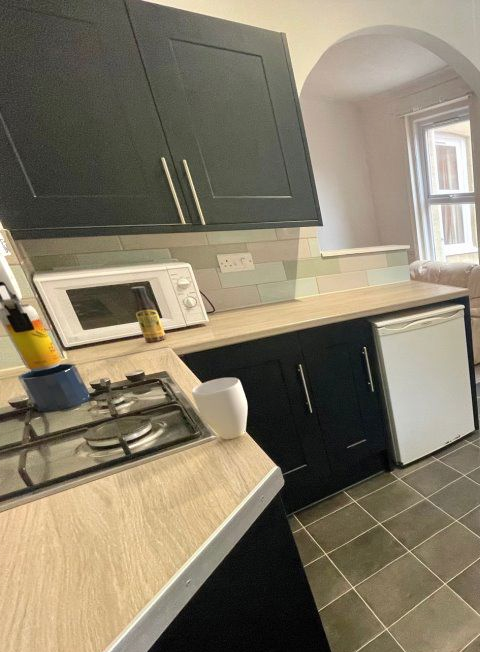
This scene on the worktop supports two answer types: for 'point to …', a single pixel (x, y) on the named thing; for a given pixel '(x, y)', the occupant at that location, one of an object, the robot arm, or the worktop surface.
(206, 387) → the mug
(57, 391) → the crock
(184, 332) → the worktop surface
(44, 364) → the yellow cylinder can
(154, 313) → the sauce bottle
